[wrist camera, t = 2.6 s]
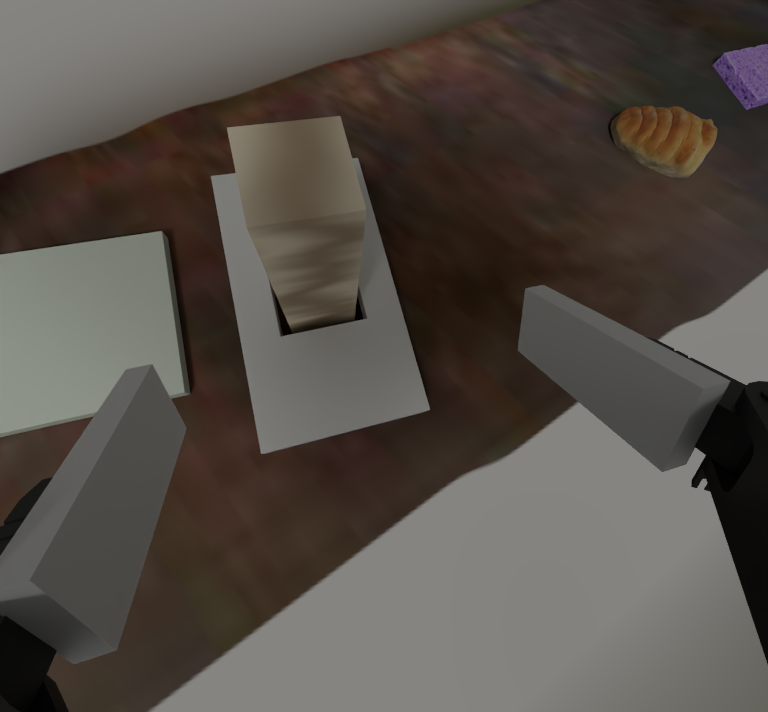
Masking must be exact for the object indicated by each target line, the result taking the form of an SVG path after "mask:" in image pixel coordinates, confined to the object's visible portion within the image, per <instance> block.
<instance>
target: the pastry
mask: <svg viewBox="0 0 768 712" xmlns="http://www.w3.org/2000/svg"><path fill="white" fill-rule="evenodd" d="M611 133H612V137H613V140H614V143H615V144H616V145H617V147H619V148H620V149H622V150H624V151H626V152H627V153H628V154H629V155H630V156H631V157H633V158H634V159H635V161H637V162H638V163H639V164H641V165H645V166H647V167H649V168H651V169H653V170H655V171H657V172H659V173H662V174H664V175H667V176H669V177H673V178H686V177H688V176H690V175H691V174H692V173H694V171H695V170H696V169H697V168H698V166H699V165H700V164H701V163H702V162H703V160H704V158H705V156H706V154H707V153H708V152H709V151H710V150H711V148H712V147H713V145H714V143H715V140H716V136H717V128H716V127H715V126H714V125H713V121H712V120H711V119H708V120H705V119H700V118H699V117H697V116H695V115H694V114H692V113H690V112H688V111H685V110H684V109H683V108H681V107H677V106H673V107H669V108H663V107H658V108H655V107H653V106H638V107H629V108H627V109H626V110H624V111H622V112H621V113H620V114H619V115H618V116H617V117H615V118H614V119H613V120H612V123H611Z"/></svg>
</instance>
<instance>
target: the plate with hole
mask: <svg viewBox="0 0 768 712" xmlns="http://www.w3.org/2000/svg"><path fill="white" fill-rule="evenodd" d="M352 160H353V163H354V167H355V170H356V174H357V177H358V181H359V185H360V188H361V192H362V195H363V199H364V202H365V206H366V209H367V211H366V220H365V229H364V238H363V247H362V256H361V265H360V274H359V283H358V292H357V296H358V300H359V304H360V308H361V311H362V315H363V320H358V321H353V322H348V323H344V324H339V325H334V326H329V327H324V328H319V329H315V330H310V331H305V332H300V333H295V334H291V335H286V336H283V334H282V329H281V324H280V319H279V314H278V309H277V305H276V300H275V295H274V290H273V287H272V285H271V283H270V280H269V278H268V276H267V273H266V271H265V269H264V267H263V264H262V262H261V260H260V257H259V255H258V253H257V250H256V248H255V246H254V244H253V241H252V239H251V237H250V234H249V232H248V230H247V227H246V222H245V217H244V212H243V207H242V201H241V196H240V191H239V186H238V181H237V176H236V173H233V174H225V175H217V176H211V180H212V185H213V191H214V196H215V202H216V207H217V213H218V218H219V224H220V229H221V235H222V240H223V246H224V251H225V257H226V263H227V268H228V274H229V279H230V285H231V290H232V296H233V301H234V307H235V312H236V318H237V323H238V329H239V334H240V340H241V346H242V351H243V357H244V362H245V368H246V373H247V379H248V384H249V390H250V395H251V401H252V406H253V412H254V417H255V423H256V429H257V434H258V440H259V445H260V451H261V454H266V453H270V452H274V451H278V450H282V449H285V448H289V447H293V446H297V445H301V444H304V443H308V442H312V441H316V440H320V439H323V438H327V437H331V436H335V435H339V434H343V433H346V432H350V431H354V430H358V429H362V428H365V427H369V426H373V425H377V424H381V423H384V422H388V421H392V420H396V419H400V418H403V417H407V416H411V415H415V414H419V413H422V412H425V411H428V410H430V407H429V404H428V400H427V397H426V393H425V390H424V386H423V383H422V379H421V376H420V372H419V369H418V366H417V362H416V359H415V355H414V352H413V348H412V345H411V341H410V338H409V334H408V331H407V327H406V324H405V320H404V317H403V313H402V310H401V306H400V303H399V299H398V296H397V292H396V289H395V285H394V282H393V278H392V275H391V271H390V268H389V264H388V261H387V257H386V254H385V250H384V247H383V244H382V240H381V237H380V233H379V230H378V226H377V223H376V219H375V216H374V212H373V209H372V205H371V202H370V198H369V195H368V191H367V188H366V184H365V181H364V177H363V174H362V170H361V167H360V163H359V160H358V158H353V159H352Z"/></svg>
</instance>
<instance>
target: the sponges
mask: <svg viewBox="0 0 768 712" xmlns="http://www.w3.org/2000/svg"><path fill="white" fill-rule="evenodd" d="M713 67H714V68H715V69H716V71H717V72H718V73H719V75H720V76H721V77H722V78H723V80H724V81H725V83H726V84H727V85H728V87H729V88H730V89H731V91H732V92H733V93H734V95H735V96H736V97H737V99H738V100H739V101H740V103H741V104H742V105H743V106H744V108H745V109H747V110H748V109H750V108H753V107H757V106H760V105H763V104H767V103H768V45H767V44H765V45H760V46H757V47H756V48H753V47H751V48H746V49H741V50H735V51H732V52H727V53H724V54H723V55H722V56H721V58H719V59H718V60H717V61H716V62H715V63H714V64H713Z"/></svg>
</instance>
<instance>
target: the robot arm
mask: <svg viewBox="0 0 768 712" xmlns="http://www.w3.org/2000/svg"><path fill="white" fill-rule="evenodd" d="M518 351H519V352H520V353H521V354H522V355H524V356H525V357H526V358H527V359H528V360H529V361H531V362H532V363H533V364H534V365H535V366H537V367H538V368H539V369H540V370H541V371H543V372H544V373H545V374H546V375H547V376H549V377H550V378H551V379H552V380H553V381H554V382H556V383H557V384H558V385H559V386H560V387H562V388H563V389H564V390H565V391H566V392H568V393H569V394H570V395H571V396H572V397H574V398H575V399H576V400H577V401H578V402H579V403H581V404H582V405H583V406H584V407H585V408H587V409H588V410H589V411H590V412H591V413H593V414H594V415H595V416H596V417H597V418H599V419H600V420H601V421H602V422H603V423H604V424H606V425H607V426H608V427H609V428H610V429H612V430H613V431H614V432H615V433H617V434H618V435H619V436H620V437H621V438H622V439H624V440H625V441H626V442H627V443H628V444H630V445H631V446H632V447H633V448H634V449H635V450H637V451H638V452H639V453H640V454H641V455H643V456H644V457H645V458H646V459H648V460H649V461H650V462H651V463H652V464H653V465H655V466H656V467H657V468H658V469H659V470H660V471H662V472H664V471H667V470H670V469H673V468H676V467H679V466H682V465H685V464H686V463H687V461H688V459H689V458H690V456H691V454H692V452H693V450H694V448H695V447H696V448H697V449H699V450H700V451H701V452H703V453H704V454H705V455H706V456H705V458H704V460H703V461H702V463H701V465H700V467H699V469H698V470H697V472H696V474H695V476H694V477H693V479H692V487H694V488H697V487H698V485H699V483H700V482H701V480H702V479H707V482H708V483H707V485H706V487H705V488H704V490H707V491H710V492H711V495H712V498H713V501H714V504H715V507H716V509H717V513H718V516H719V519H720V521H721V525H722V528H723V531H724V534H725V537H726V540H727V543H728V546H729V549H730V552H731V555H732V558H733V561H734V564H735V567H736V570H737V573H738V576H739V579H740V582H741V585H742V588H743V591H744V594H745V597H746V600H747V603H748V606H749V609H750V612H751V615H752V618H753V621H754V624H755V627H756V630H757V633H758V636H759V639H760V642H761V645H762V648H763V651H764V654H765V657H766V660H767V663H768V382H764V381H758V382H752V383H749V384H748V385H745V384H743V383H740V382H738V381H737V380H735V379H733V378H731V377H729V376H727V375H724V374H723V373H721V372H719V371H717V370H715V369H713V368H711V367H709V366H707V365H705V364H703V363H701V362H699V361H697V360H695V359H693V358H688V356H687V355H685V354H683V353H681V352H679V351H674V349H673V348H671V347H669V346H667V345H665V344H663V343H661V342H660V341H658V340H654V339H651V338H648V337H645V336H642V335H640V334H638V333H636V332H634V331H632V330H630V329H629V328H627V327H625V326H623V325H621V324H619V323H617V322H615V321H613V320H611V319H609V318H607V317H605V316H603V315H601V314H599V313H597V312H595V311H593V310H592V309H590V308H588V307H586V306H584V305H582V304H580V303H578V302H576V301H574V300H572V299H570V298H568V297H566V296H564V295H562V294H560V293H558V292H556V291H555V290H553V289H551V288H549V287H547V286H545V285H540V286H535V287H530V288H525V296H524V303H523V311H522V319H521V327H520V335H519V343H518ZM186 429H187V428H186V426H185V424H184V422H183V421H182V419H181V417H180V415H179V413H178V411H177V409H176V407H175V406H174V404H173V402H172V400H171V398H170V396H169V394H168V392H167V391H166V389H165V387H164V385H163V383H162V381H161V379H160V377H159V376H158V374H157V372H156V370H155V368H154V366H153V364H149V365H145V366H140V367H135V368H130V369H126V370H125V371H124V373H123V374H122V376H121V377H120V379H119V380H118V382H117V383H116V385H115V386H114V388H113V389H112V390H111V392H110V393H109V395H108V396H107V398H106V399H105V401H104V402H103V404H102V405H101V407H100V408H99V410H98V411H97V413H96V414H95V416H94V417H93V419H92V420H91V422H90V423H89V425H88V426H87V428H86V429H85V431H84V432H83V434H82V435H81V437H80V438H79V440H78V441H77V443H76V444H75V445H74V447H73V448H72V450H71V451H70V453H69V454H68V456H67V457H66V459H65V460H64V462H63V463H62V465H61V466H60V468H59V469H58V471H57V472H56V474H55V475H54V477H51V478H47V479H43V480H42V481H41V482H39V483H38V484H37V485H36V486H35V487H34V488H33V489H32V490H30V491H29V492H28V493H27V494H26V495H25V496H24V497H23V498H22V499H20V500H19V502H18V503H17V504H16V506H15V507H14V509H13V510H12V511H11V513H10V514H9V516H8V517H7V518H6V520H5V521H4V526H1V527H0V712H69V711H68V709H67V707H66V704H65V702H64V700H63V698H62V695H61V693H60V691H59V689H58V687H57V684H56V682H54V681H53V680H52V679H51V678H50V677H49V676H47V675H46V674H47V672H48V670H49V667H50V665H51V663H52V661H53V658H54V656H55V654H56V653H58V654H59V655H61V656H62V657H64V658H65V659H67V660H68V661H70V662H71V663H72V664H76V663H79V662H82V661H85V660H88V659H92V658H95V657H98V656H101V655H104V654H107V653H110V652H113V651H116V650H117V647H118V644H119V641H120V638H121V635H122V632H123V628H124V625H125V622H126V619H127V616H128V613H129V609H130V606H131V603H132V600H133V597H134V593H135V590H136V587H137V584H138V581H139V578H140V574H141V571H142V568H143V565H144V562H145V559H146V555H147V552H148V549H149V546H150V543H151V540H152V536H153V533H154V530H155V527H156V524H157V521H158V517H159V514H160V511H161V508H162V505H163V502H164V498H165V495H166V492H167V489H168V486H169V483H170V479H171V476H172V473H173V470H174V467H175V464H176V460H177V457H178V454H179V451H180V448H181V444H182V441H183V438H184V435H185V432H186Z"/></svg>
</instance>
